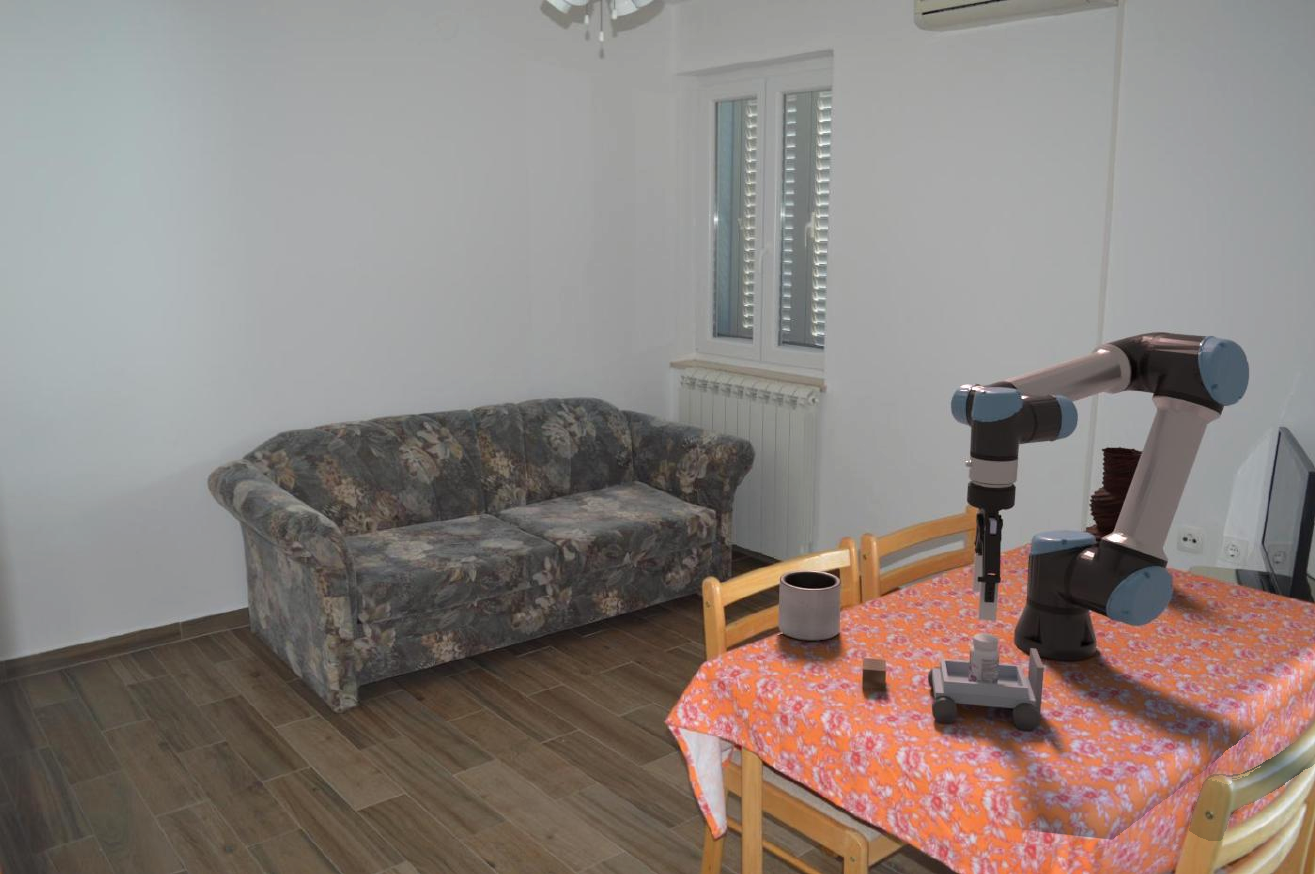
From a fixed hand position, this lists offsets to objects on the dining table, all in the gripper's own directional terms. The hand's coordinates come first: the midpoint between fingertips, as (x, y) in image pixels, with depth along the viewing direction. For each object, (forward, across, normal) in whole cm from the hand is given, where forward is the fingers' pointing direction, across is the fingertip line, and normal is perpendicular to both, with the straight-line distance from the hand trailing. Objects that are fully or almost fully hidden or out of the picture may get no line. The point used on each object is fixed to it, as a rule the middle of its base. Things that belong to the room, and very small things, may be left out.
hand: (983, 604), depth 171 cm
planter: (+19, -28, -31) cm, 46 cm away
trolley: (+19, 0, +1) cm, 19 cm away
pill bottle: (+14, 0, +1) cm, 14 cm away
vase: (+19, -81, +36) cm, 91 cm away
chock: (+19, -6, -18) cm, 26 cm away
